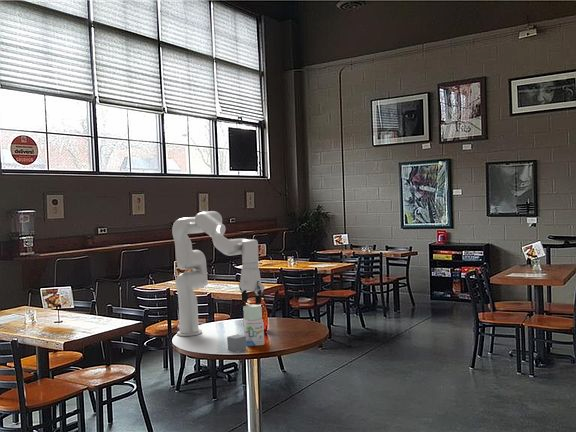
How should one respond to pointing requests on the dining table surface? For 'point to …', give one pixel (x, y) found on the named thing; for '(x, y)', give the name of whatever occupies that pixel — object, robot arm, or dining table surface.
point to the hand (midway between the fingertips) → (251, 302)
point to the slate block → (236, 343)
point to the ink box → (254, 332)
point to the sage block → (252, 312)
